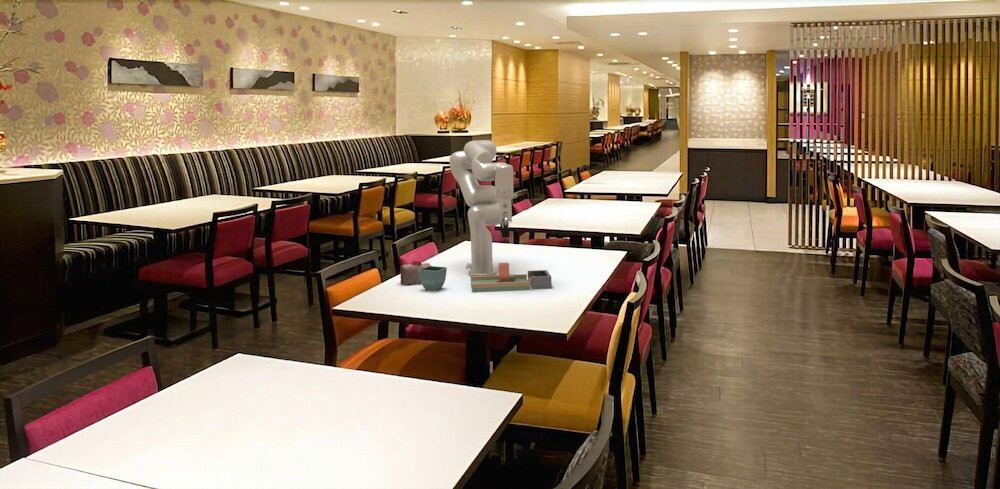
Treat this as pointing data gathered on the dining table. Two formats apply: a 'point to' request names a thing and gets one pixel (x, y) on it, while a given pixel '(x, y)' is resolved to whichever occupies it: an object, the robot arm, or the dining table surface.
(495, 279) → the pitch
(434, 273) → the flower pot
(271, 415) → the dining table surface
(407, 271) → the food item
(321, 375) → the dining table surface
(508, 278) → the silver-capped pink block
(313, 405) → the dining table surface
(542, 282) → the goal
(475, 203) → the robot arm
